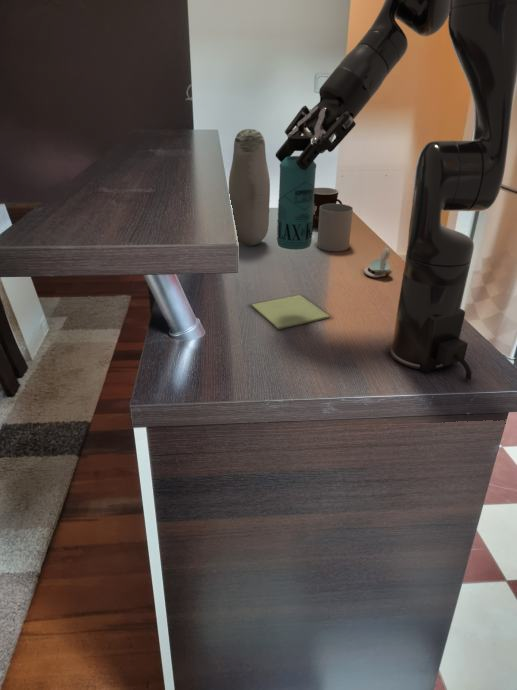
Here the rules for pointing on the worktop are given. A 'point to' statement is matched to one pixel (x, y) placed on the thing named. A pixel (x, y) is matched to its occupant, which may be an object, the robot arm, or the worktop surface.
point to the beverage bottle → (296, 198)
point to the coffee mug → (323, 201)
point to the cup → (334, 227)
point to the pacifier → (379, 265)
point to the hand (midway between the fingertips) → (289, 162)
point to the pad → (289, 311)
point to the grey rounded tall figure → (250, 187)
